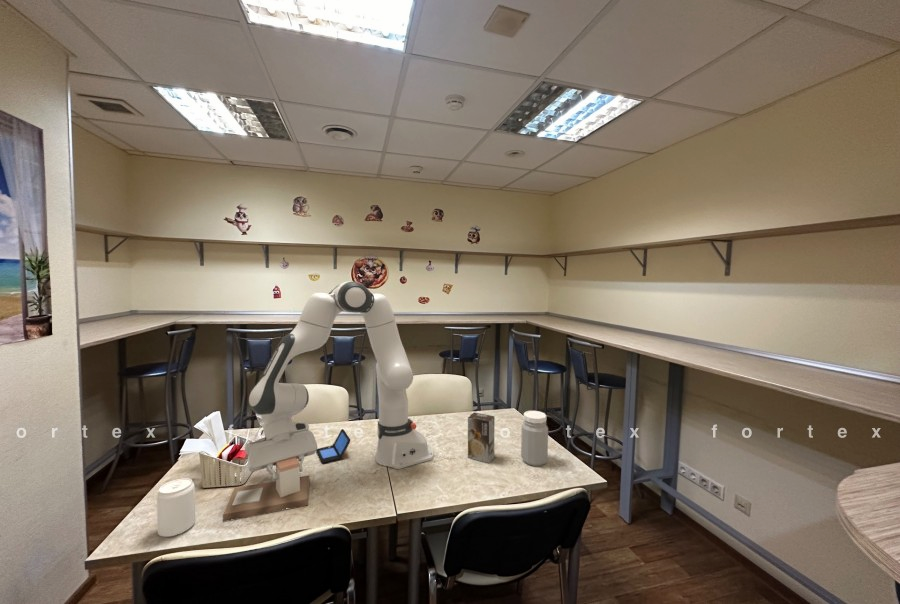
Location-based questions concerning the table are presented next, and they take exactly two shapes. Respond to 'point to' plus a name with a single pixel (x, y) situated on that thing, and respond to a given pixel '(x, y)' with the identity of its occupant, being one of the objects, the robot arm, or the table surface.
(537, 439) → the jar
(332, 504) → the table surface
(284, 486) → the white tall block
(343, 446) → the handheld game console
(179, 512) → the white cylinder
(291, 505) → the board
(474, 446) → the coffee box
